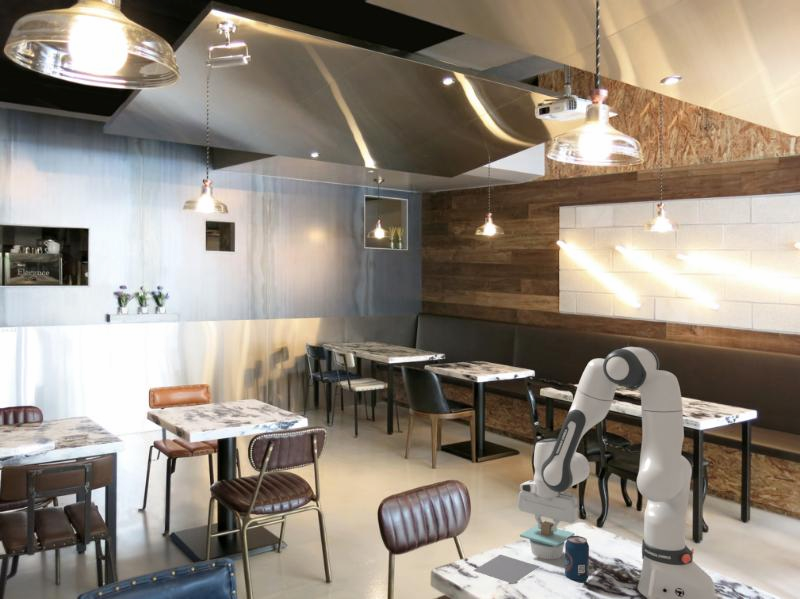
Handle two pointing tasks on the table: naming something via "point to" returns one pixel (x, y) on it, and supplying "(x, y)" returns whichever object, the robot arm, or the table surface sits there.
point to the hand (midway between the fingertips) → (547, 529)
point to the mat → (506, 568)
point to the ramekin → (546, 550)
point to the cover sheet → (547, 539)
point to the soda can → (577, 558)
